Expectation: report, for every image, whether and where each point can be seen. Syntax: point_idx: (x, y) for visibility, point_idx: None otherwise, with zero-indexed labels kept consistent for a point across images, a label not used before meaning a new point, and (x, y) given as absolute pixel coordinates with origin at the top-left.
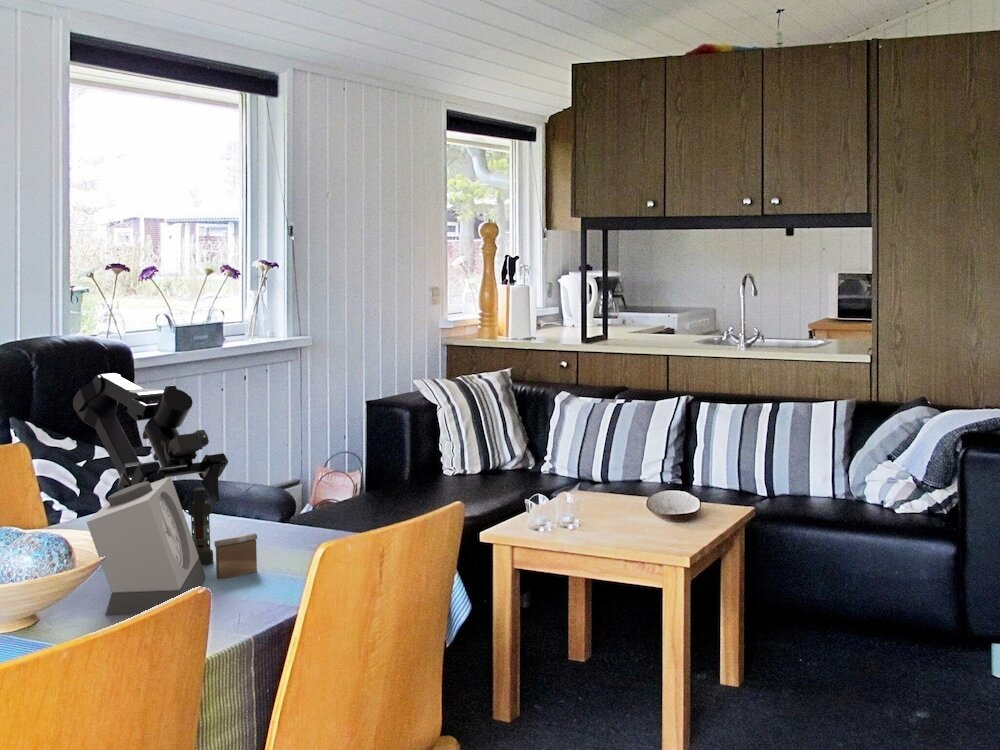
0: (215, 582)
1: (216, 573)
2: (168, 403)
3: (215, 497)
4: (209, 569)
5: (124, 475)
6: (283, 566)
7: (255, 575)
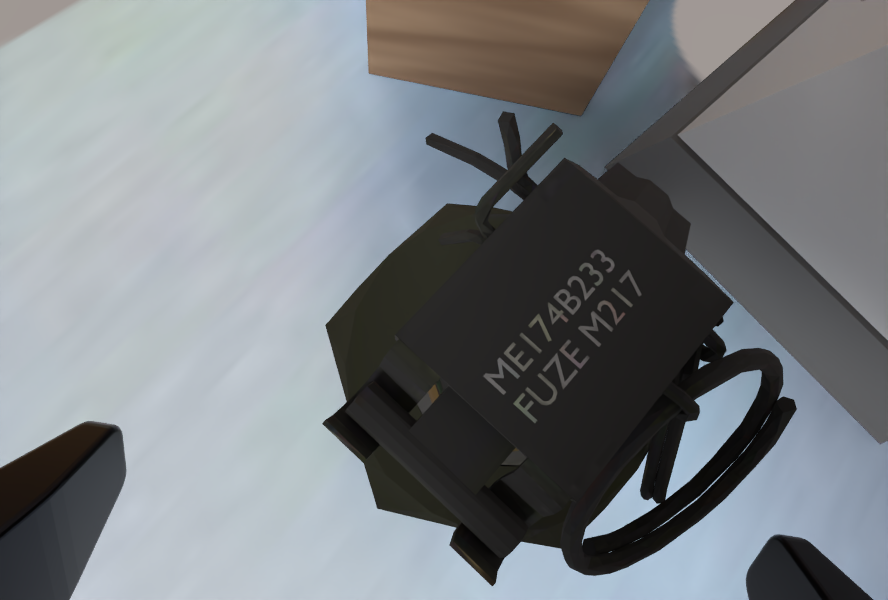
0: (620, 79)
1: (589, 101)
2: None
3: (88, 480)
4: None
5: None
6: (229, 6)
7: None
